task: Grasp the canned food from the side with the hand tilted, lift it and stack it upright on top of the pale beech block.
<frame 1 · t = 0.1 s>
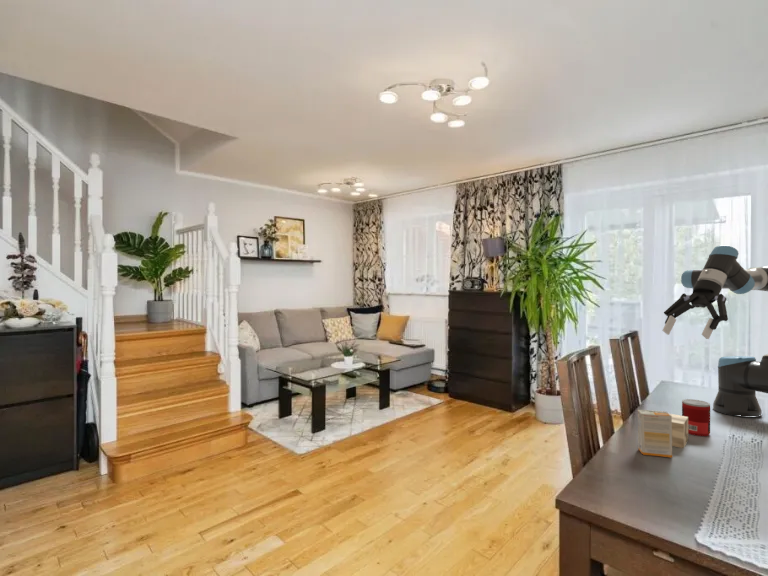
hand: (684, 334, 141), 36 cm above the table, tool tilted 35°, fingers open, 13 cm apart
canned food: (696, 433, 145), on the table
supplement box: (654, 454, 128), on the table
beech block: (667, 440, 139), on the table
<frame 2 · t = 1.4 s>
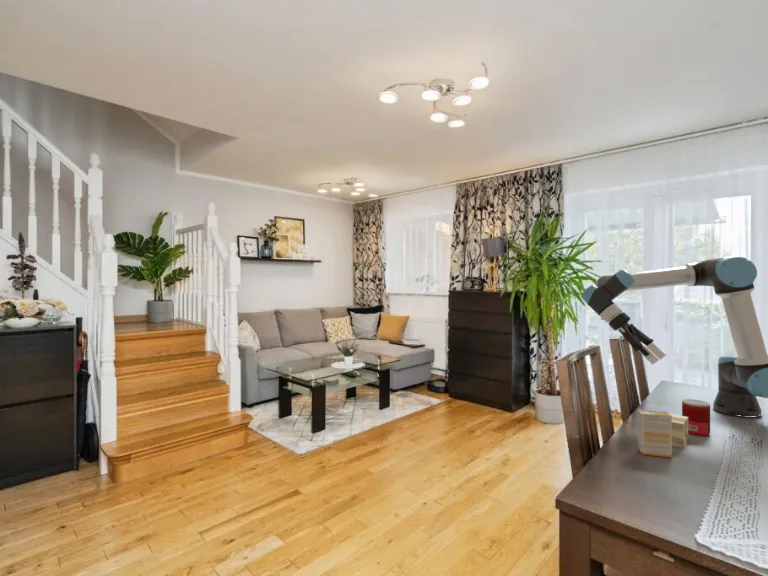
hand: (659, 359, 152), 25 cm above the table, tool tilted 45°, fingers open, 13 cm apart
nothing on the table moved.
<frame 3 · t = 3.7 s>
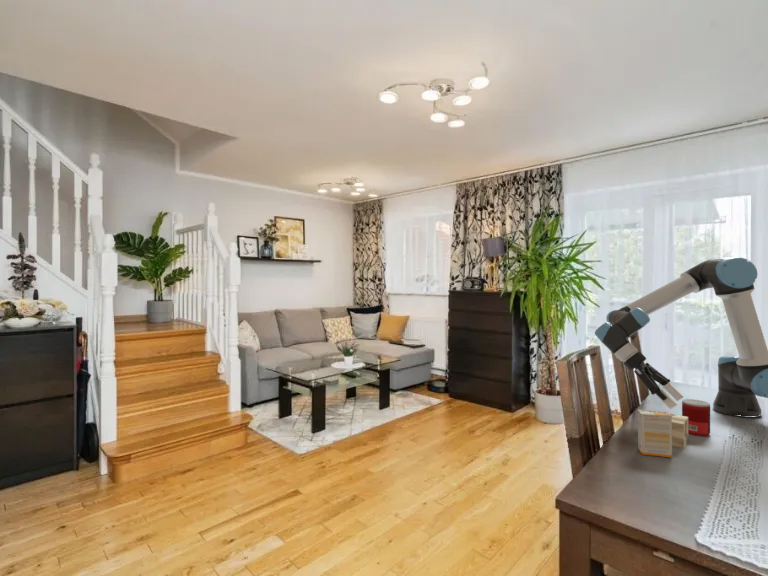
hand: (677, 402, 148), 10 cm above the table, tool tilted 45°, fingers open, 13 cm apart
nothing on the table moved.
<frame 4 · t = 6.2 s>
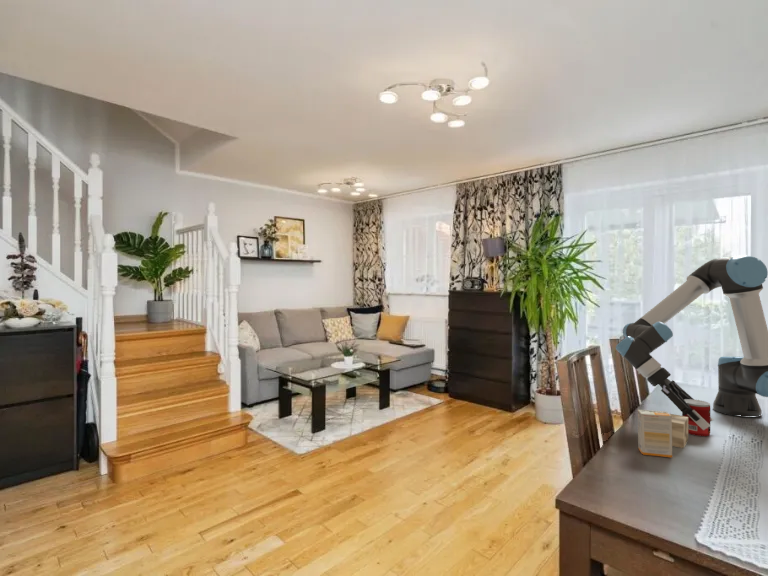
hand: (708, 424, 143), 4 cm above the table, tool tilted 45°, fingers closed on canned food, 8 cm apart
canned food: (696, 433, 145), on the table, touching gripper
everything else where it was.
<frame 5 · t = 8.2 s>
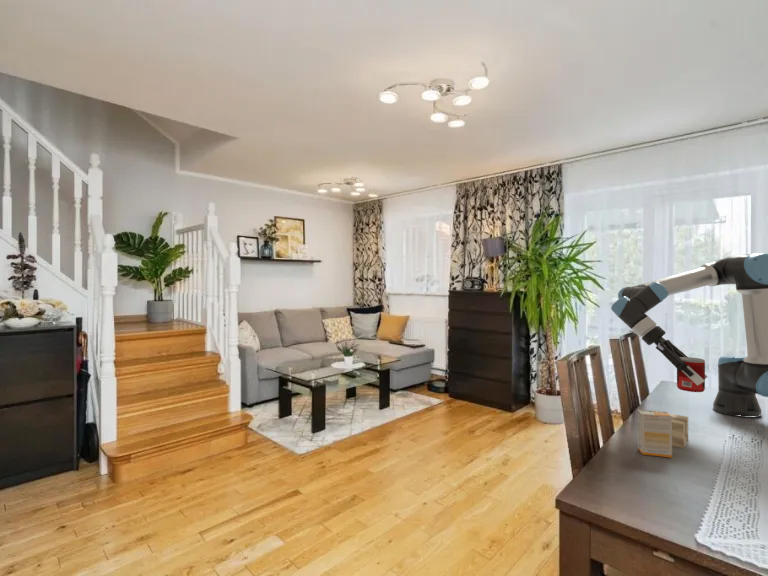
hand: (702, 381, 142), 19 cm above the table, tool tilted 45°, fingers closed on canned food, 8 cm apart
canned food: (690, 390, 145), point 15 cm above the table, touching gripper
everything else where it was.
when the fingers open (14 cm above the table, at t = 10.6 s): canned food drops 2 cm, resting on beech block.
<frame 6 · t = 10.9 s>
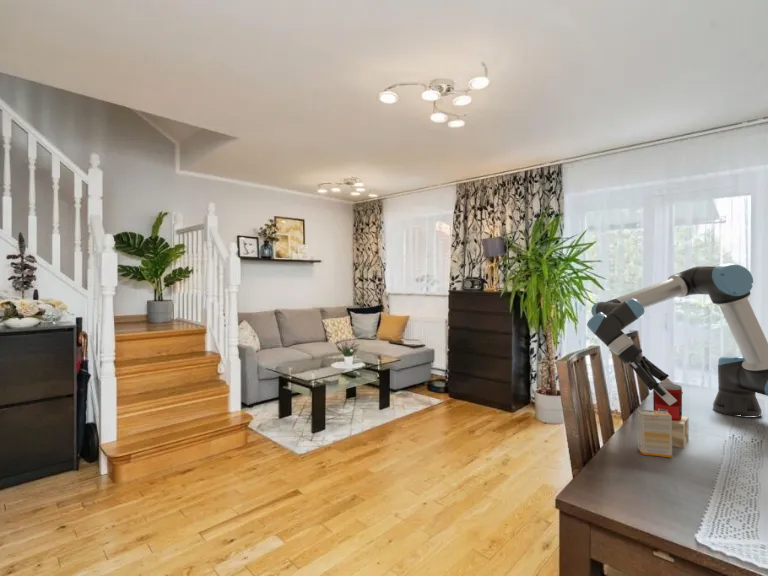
hand: (676, 399, 137), 14 cm above the table, tool tilted 45°, fingers open, 12 cm apart
canned food: (667, 417, 139), point 8 cm above the table, touching beech block
beech block: (668, 440, 139), on the table, touching canned food
everything else where it was.
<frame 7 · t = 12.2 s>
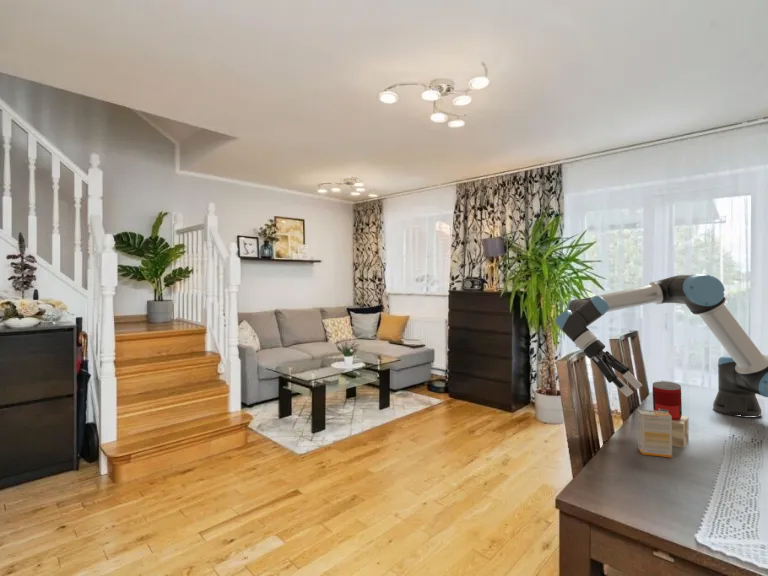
hand: (635, 391, 145), 15 cm above the table, tool tilted 45°, fingers open, 13 cm apart
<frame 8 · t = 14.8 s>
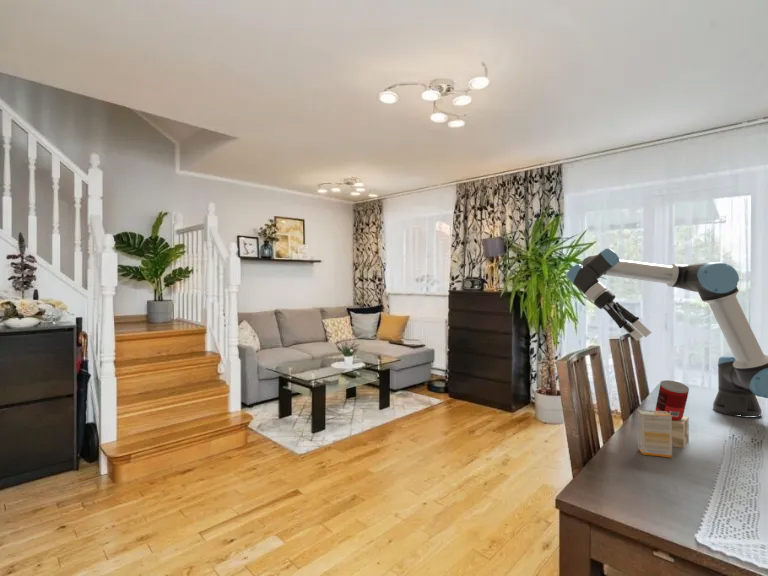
hand: (644, 336, 152), 34 cm above the table, tool tilted 45°, fingers open, 13 cm apart
at the end: canned food inside the target area on the beech block (0.1 cm from its centre), point 8.8 cm above the beech block's base; canned food tilted 15°; the gripper is holding nothing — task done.
